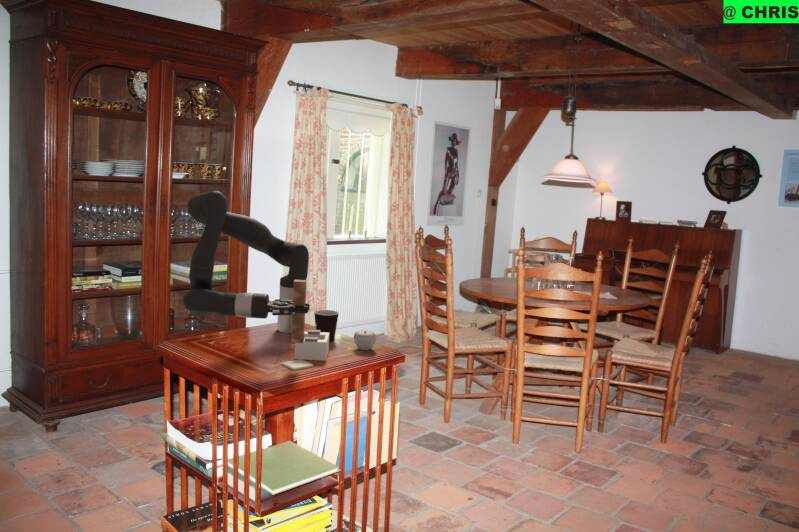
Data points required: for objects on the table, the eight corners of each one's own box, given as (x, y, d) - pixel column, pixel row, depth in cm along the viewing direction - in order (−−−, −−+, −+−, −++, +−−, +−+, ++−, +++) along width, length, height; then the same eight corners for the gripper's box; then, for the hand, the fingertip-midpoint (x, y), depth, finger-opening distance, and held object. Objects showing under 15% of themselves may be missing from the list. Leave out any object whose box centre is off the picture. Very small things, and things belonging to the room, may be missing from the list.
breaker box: (294, 359, 208) (295, 338, 207) (299, 348, 221) (299, 328, 220) (325, 360, 209) (326, 340, 208) (328, 349, 222) (329, 330, 221)
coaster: (281, 364, 202) (281, 362, 202) (300, 361, 207) (300, 359, 206) (294, 370, 197) (294, 368, 197) (313, 366, 201) (313, 364, 201)
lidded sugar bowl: (377, 347, 228) (378, 329, 227) (373, 353, 220) (374, 334, 219) (355, 345, 229) (356, 327, 228) (350, 351, 221) (351, 332, 220)
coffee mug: (333, 343, 229) (334, 316, 228) (310, 341, 231) (311, 313, 230) (342, 336, 241) (343, 309, 239) (320, 333, 242) (321, 307, 241)
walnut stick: (291, 342, 199) (293, 281, 196) (292, 339, 202) (295, 279, 200) (302, 343, 199) (305, 282, 196) (303, 340, 202) (306, 280, 200)
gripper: (247, 297, 191) (306, 300, 192) (256, 289, 205) (311, 292, 206) (247, 322, 192) (305, 325, 193) (255, 312, 206) (310, 315, 207)
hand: (308, 308), depth 199 cm, fingers closed on walnut stick, 3 cm apart
